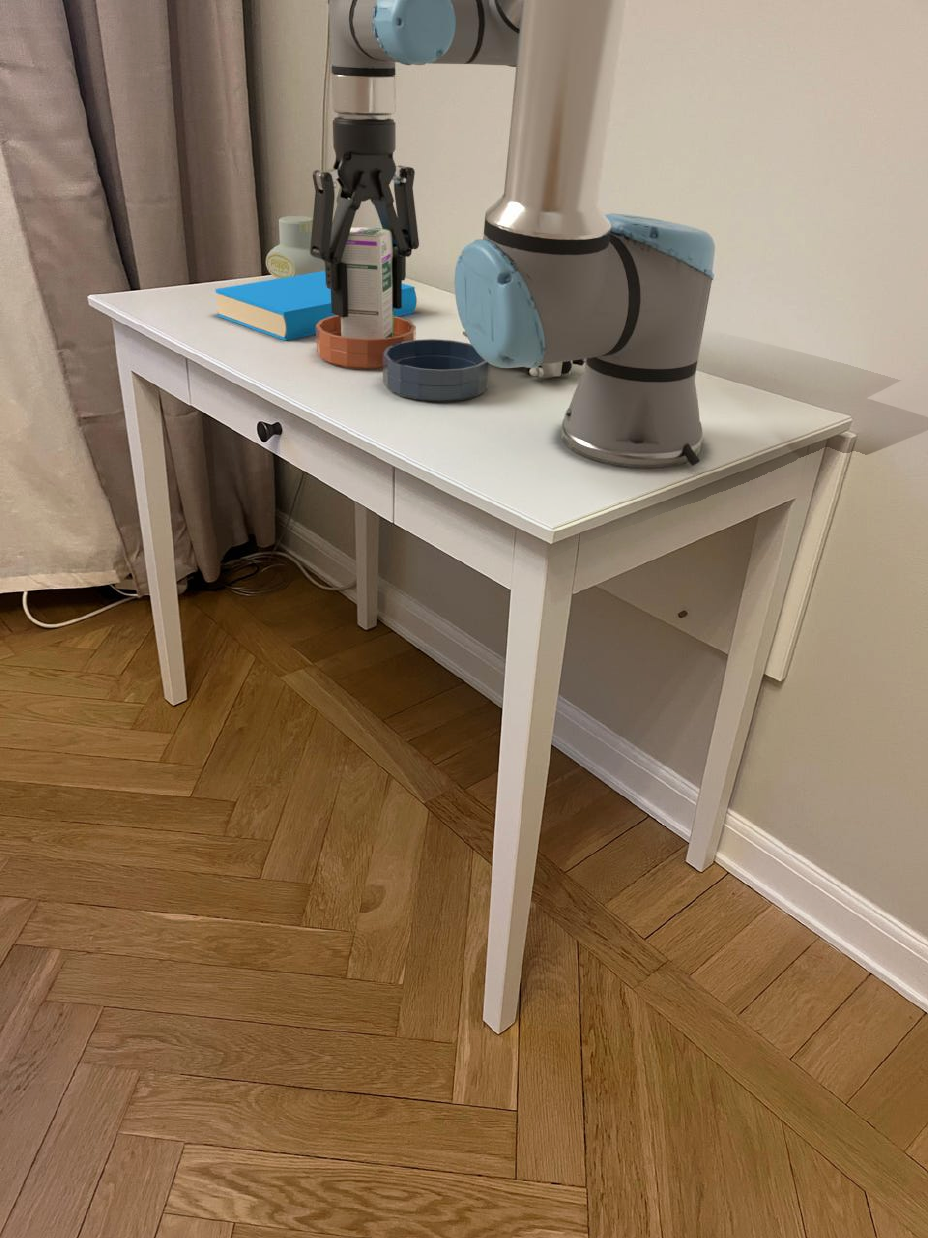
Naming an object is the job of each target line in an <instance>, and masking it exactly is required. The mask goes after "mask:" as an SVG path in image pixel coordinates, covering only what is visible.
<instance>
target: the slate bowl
mask: <svg viewBox="0 0 928 1238" xmlns="http://www.w3.org/2000/svg"><path fill="white" fill-rule="evenodd" d="M490 365H491V364H490V363H488V362H487V361H485V360H484V359H483V358H482V357H481V356H480V355H479V354H478V353H477V352H476V350H475V349H474V347H473V346H472V344H471V343H467V342H463V341H457V340H451V339H450V340H448V339H436V338H428V339H426V338H425V339H416V340H411V341H406V342H400V343H396V344H394V345H392V346H389V347H387V348H386V349H385V351H384V353H383V369H382V383H383V385H385V388H386V389H387V390H389V391H391V392H393V393H394V394H397V395H399V396H401V397H404V398H407V399H411V400H417V401H422V402H436V403H440V402H441V403H445V402H447V403H448V402H459V401H464V400H467V399H472V398H474V397H477V396H478V395H480V394H482V393H484V392H485V391H488V388H489V383H490Z"/></svg>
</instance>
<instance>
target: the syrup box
mask: <svg viewBox="0 0 928 1238" xmlns="http://www.w3.org/2000/svg"><path fill="white" fill-rule="evenodd" d="M341 262H342V263H346V264H347V290H348V317H344V318H343V317H341V336H342V337H347V338H358V339H381V338H390V337H394V304H393V242H392V233H391V231H390V230H387V229H383V228H382V227H381V228H380V227H364V226H363V227H361V226H360V227H351V229H350V233H349V236H348V239H347V243H346V246H345V249H344V253H343V256H342V259H341Z"/></svg>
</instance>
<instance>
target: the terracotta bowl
mask: <svg viewBox="0 0 928 1238" xmlns="http://www.w3.org/2000/svg"><path fill="white" fill-rule="evenodd" d="M315 339H316V340H315V342H316V353H317V355H318V357H319V358H320V359H322V360H324V361H326V362H327V363H329V364H331V365H334V366H338V367H342V368H347V369H355V370H381V369H382V370H383V353H384V351H385V349H386V348H387V347H389V346H392V345H394V344H396V343H400V342H406V341H411V340H417V326H416V325H415V324H414V322H412V321H410V320H408V319H405V318H403V317H401V316H397V317H395V316H394V337H390V338H381V339H358V338H347V337H342V336H341V317H340V316H338V315H336V316H331V317H328V318H325V319H323V320H320V321H319V322H318V323H317V325H316V334H315Z"/></svg>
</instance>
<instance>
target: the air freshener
mask: <svg viewBox="0 0 928 1238" xmlns="http://www.w3.org/2000/svg"><path fill="white" fill-rule="evenodd" d="M278 219H279V220H278V232H279V244H277V245H276V246H274V247H272V249H270V250H269V252H268V253H267V254H266V257H265V266H266V269H267V271H268V272H269V273H270V275H271V276H272V277H274V279H279V278H285V277H291V276H297V275H303V274H309V273H315V272H321V271H325V263H324V261H323V260H322V259H319V258H316V257H313V256H312V255H311V254H310V247H311V236H312V225H313V217H310V216H305V215H287V216H282V217H280V218H278Z"/></svg>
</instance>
